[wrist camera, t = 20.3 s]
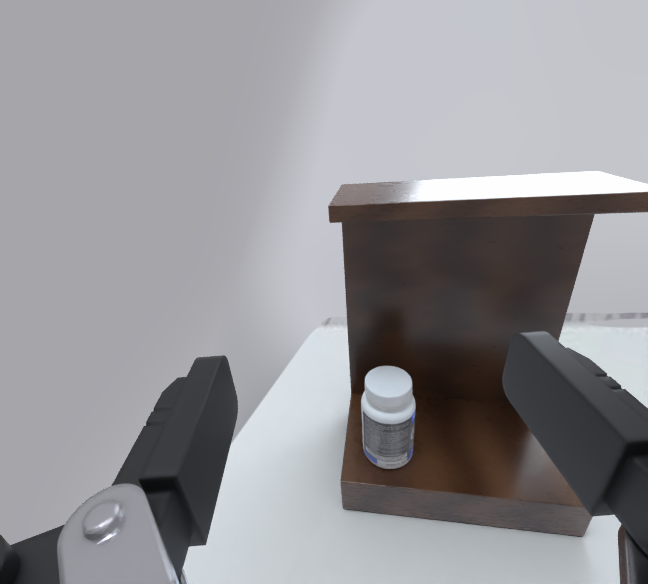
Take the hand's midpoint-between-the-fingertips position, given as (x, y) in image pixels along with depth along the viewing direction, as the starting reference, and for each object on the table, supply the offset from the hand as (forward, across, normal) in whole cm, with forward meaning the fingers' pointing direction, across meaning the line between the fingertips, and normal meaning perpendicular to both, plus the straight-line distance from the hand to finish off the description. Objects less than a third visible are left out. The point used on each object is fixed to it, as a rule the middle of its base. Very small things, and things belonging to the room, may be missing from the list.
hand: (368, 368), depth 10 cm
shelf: (+15, -10, +26) cm, 32 cm away
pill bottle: (+14, -4, +22) cm, 27 cm away
